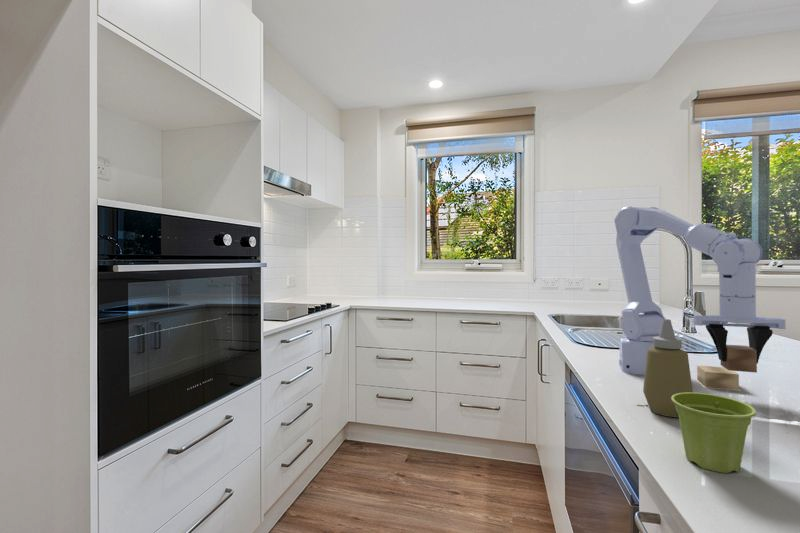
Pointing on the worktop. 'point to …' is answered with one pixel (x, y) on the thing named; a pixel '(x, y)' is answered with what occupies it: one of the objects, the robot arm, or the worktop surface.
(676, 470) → the worktop surface
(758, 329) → the robot arm
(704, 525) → the worktop surface
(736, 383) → the oak block
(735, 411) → the plant pot
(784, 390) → the worktop surface
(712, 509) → the worktop surface
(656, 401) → the squeeze bottle
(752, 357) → the walnut block
